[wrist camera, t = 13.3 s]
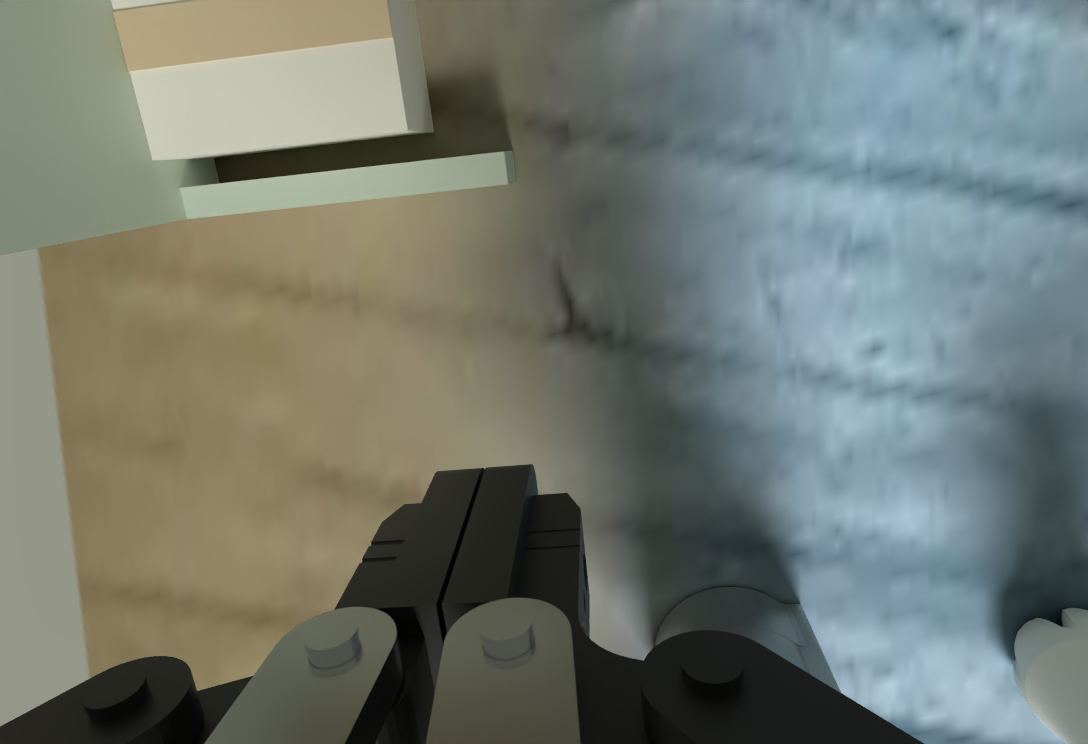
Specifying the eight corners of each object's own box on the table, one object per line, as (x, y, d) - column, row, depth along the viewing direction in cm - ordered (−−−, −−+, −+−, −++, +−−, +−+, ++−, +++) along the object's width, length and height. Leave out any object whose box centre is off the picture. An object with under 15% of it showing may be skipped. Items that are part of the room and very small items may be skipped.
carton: (403, -85, 35) (366, -131, 29) (435, 132, 38) (407, 130, 32) (168, -52, 36) (86, -89, 30) (216, 157, 39) (151, 160, 33)
